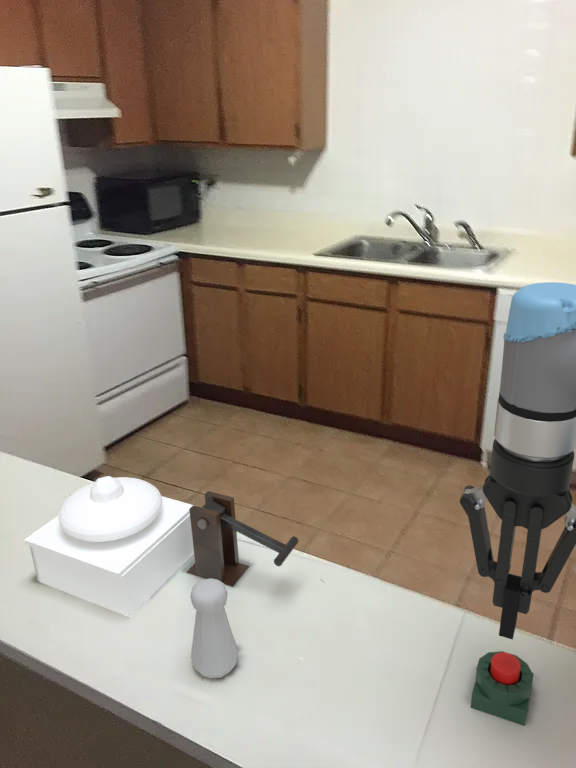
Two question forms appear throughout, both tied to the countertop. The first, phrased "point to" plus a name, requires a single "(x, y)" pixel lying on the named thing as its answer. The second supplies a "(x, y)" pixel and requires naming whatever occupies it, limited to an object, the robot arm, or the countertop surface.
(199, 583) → the salt shaker
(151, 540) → the white lidded container
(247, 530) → the lever
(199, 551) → the bracket
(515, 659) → the button
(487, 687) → the button box
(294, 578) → the countertop surface
